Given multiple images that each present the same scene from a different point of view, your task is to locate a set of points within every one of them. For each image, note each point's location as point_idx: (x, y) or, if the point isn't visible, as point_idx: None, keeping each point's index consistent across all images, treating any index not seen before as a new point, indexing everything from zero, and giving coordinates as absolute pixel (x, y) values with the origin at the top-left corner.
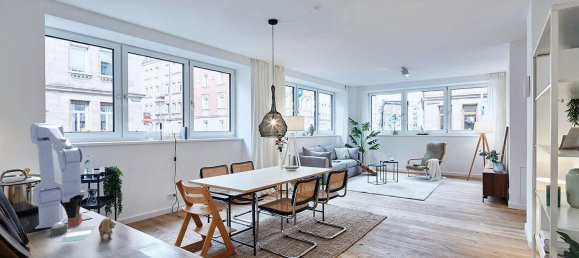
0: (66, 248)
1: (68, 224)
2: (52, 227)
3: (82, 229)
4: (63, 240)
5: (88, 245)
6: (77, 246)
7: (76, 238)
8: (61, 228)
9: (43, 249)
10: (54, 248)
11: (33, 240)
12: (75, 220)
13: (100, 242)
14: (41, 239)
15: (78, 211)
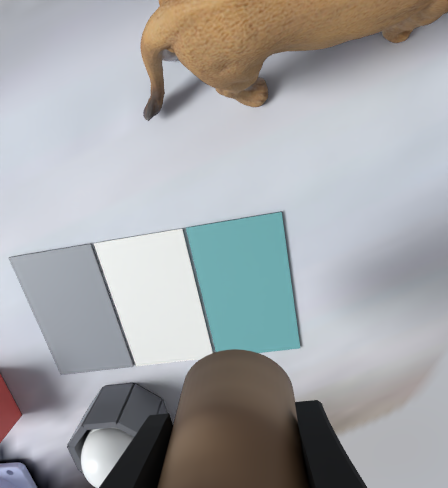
0: (426, 263)
1: (12, 422)
2: None
3: (82, 312)
4: (270, 341)
5: (432, 122)
6: (417, 203)
7: (252, 278)
8: (140, 425)
9: (383, 384)
10: (392, 335)
11: None
12: (282, 369)
13: (408, 34)
14: None
15: (238, 442)
